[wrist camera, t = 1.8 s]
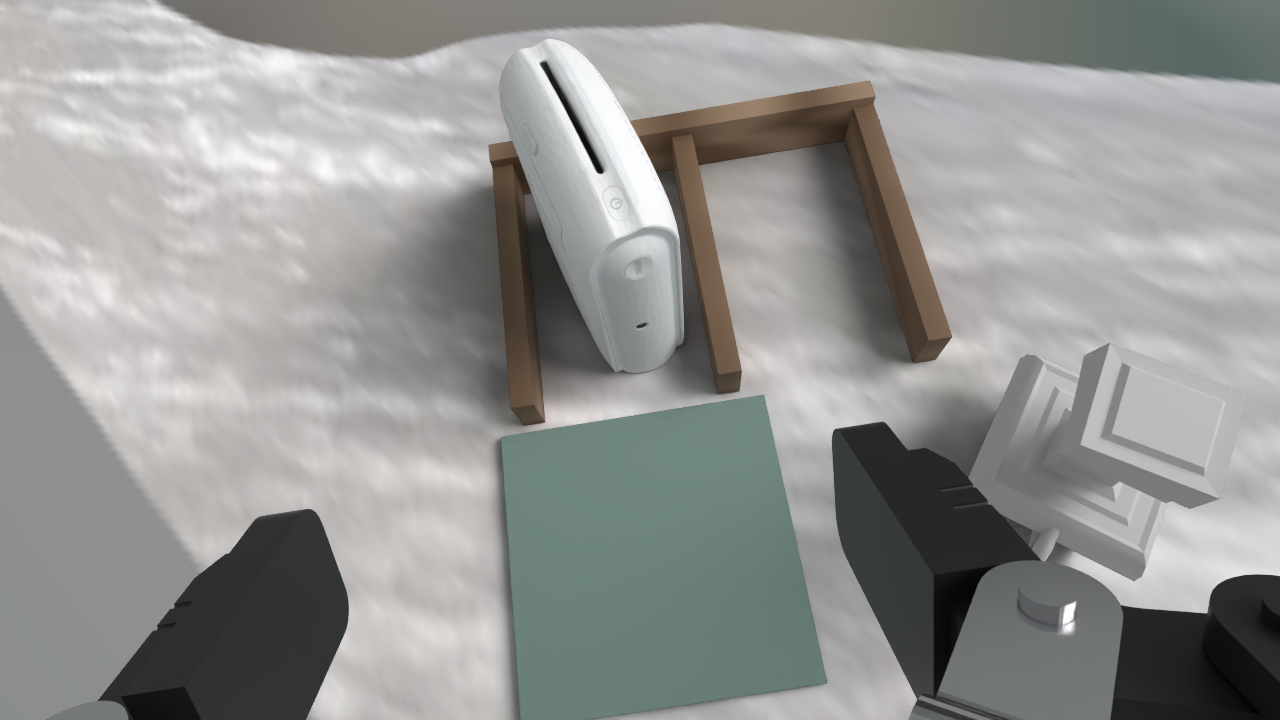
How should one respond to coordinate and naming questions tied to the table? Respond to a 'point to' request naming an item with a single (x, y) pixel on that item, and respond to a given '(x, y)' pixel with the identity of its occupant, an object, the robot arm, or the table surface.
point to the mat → (654, 564)
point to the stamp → (1106, 452)
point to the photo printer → (597, 203)
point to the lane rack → (684, 149)
